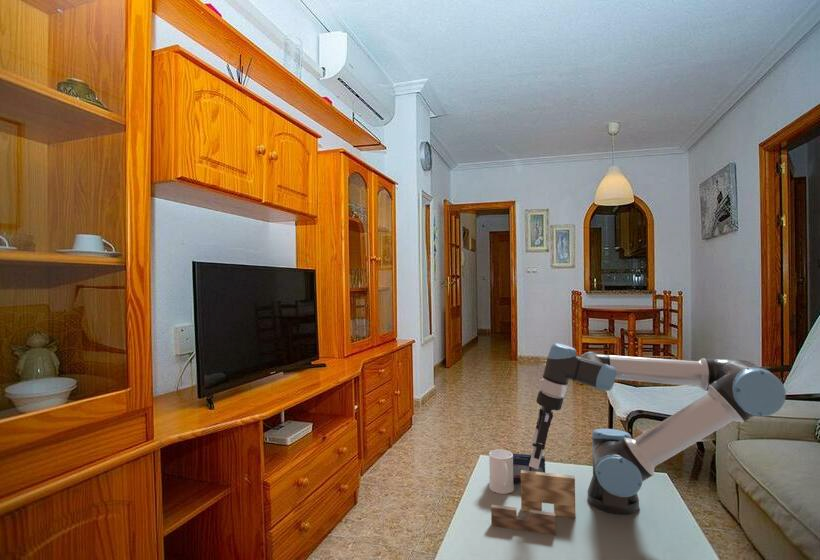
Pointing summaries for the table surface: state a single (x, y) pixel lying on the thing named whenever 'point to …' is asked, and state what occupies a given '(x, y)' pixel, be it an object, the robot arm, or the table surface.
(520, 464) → the vhs cassette tape
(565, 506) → the cross plate
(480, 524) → the table surface
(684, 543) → the table surface
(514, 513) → the standing plate
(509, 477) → the mug
